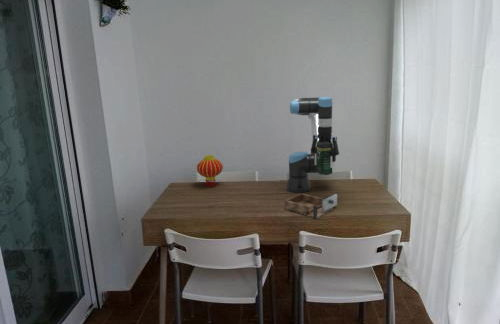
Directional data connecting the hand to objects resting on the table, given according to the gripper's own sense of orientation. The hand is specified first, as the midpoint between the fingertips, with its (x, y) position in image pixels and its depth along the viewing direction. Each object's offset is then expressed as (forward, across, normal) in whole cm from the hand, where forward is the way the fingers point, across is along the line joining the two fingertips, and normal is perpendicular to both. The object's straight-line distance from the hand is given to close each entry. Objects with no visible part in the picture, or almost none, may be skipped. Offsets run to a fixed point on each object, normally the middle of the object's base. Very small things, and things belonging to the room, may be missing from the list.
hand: (324, 165), depth 201 cm
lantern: (+21, -75, -21) cm, 81 cm away
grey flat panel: (+19, +11, -11) cm, 25 cm away
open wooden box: (+20, +1, -17) cm, 27 cm away
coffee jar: (+4, 0, 0) cm, 4 cm away
